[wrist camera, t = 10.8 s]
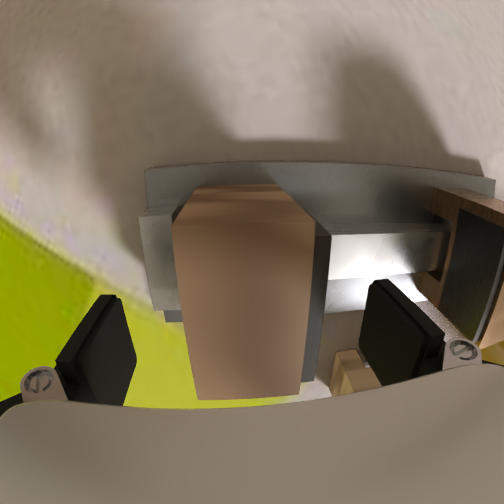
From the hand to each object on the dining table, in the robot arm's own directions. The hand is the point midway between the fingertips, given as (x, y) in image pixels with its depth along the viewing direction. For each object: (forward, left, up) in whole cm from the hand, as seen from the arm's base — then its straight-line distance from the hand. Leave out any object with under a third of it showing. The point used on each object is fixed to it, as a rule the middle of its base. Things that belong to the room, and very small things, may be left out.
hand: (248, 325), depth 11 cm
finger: (0, +1, -6) cm, 6 cm away
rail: (+7, +1, -7) cm, 10 cm away
